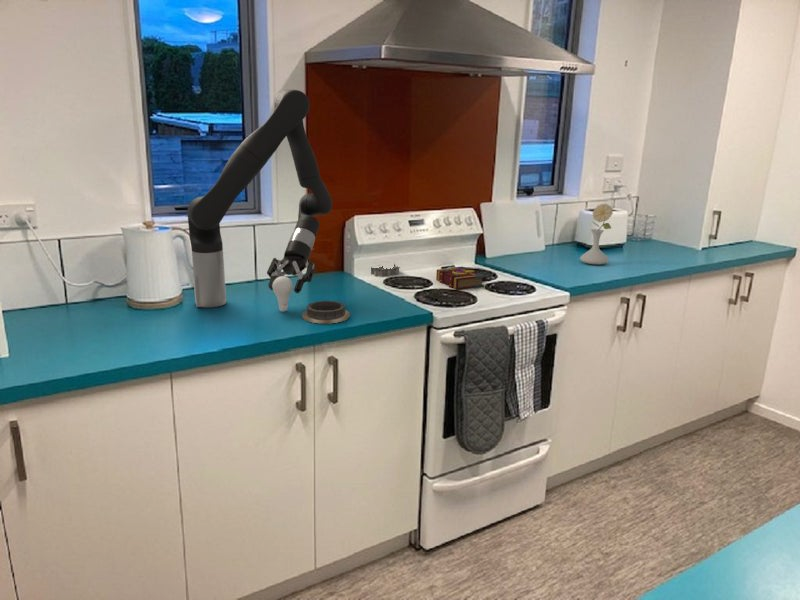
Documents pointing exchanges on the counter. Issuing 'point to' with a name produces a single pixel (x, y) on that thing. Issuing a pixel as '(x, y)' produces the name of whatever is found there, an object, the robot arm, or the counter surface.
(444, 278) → the decorative book
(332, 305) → the bulb holder
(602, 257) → the flower in vase
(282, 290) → the lightbulb
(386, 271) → the egg carton
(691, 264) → the counter surface
